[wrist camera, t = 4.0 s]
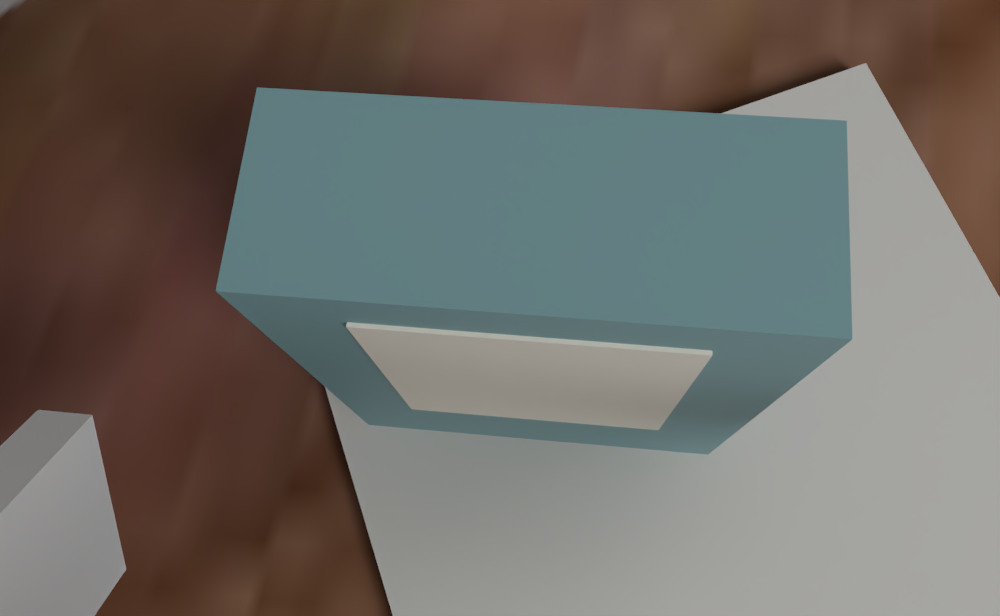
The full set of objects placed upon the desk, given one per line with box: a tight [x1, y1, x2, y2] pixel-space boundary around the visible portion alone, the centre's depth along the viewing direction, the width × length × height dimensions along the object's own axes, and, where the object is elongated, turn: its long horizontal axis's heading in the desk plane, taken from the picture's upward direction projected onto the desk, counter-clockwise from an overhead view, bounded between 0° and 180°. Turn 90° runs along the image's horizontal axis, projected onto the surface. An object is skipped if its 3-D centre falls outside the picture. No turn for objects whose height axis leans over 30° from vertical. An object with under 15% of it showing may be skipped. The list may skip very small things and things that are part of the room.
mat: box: [325, 63, 1000, 616], centre depth 19 cm, size 22×16×1 cm
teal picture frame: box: [216, 87, 852, 455], centre depth 16 cm, size 8×3×10 cm, turn 85°
